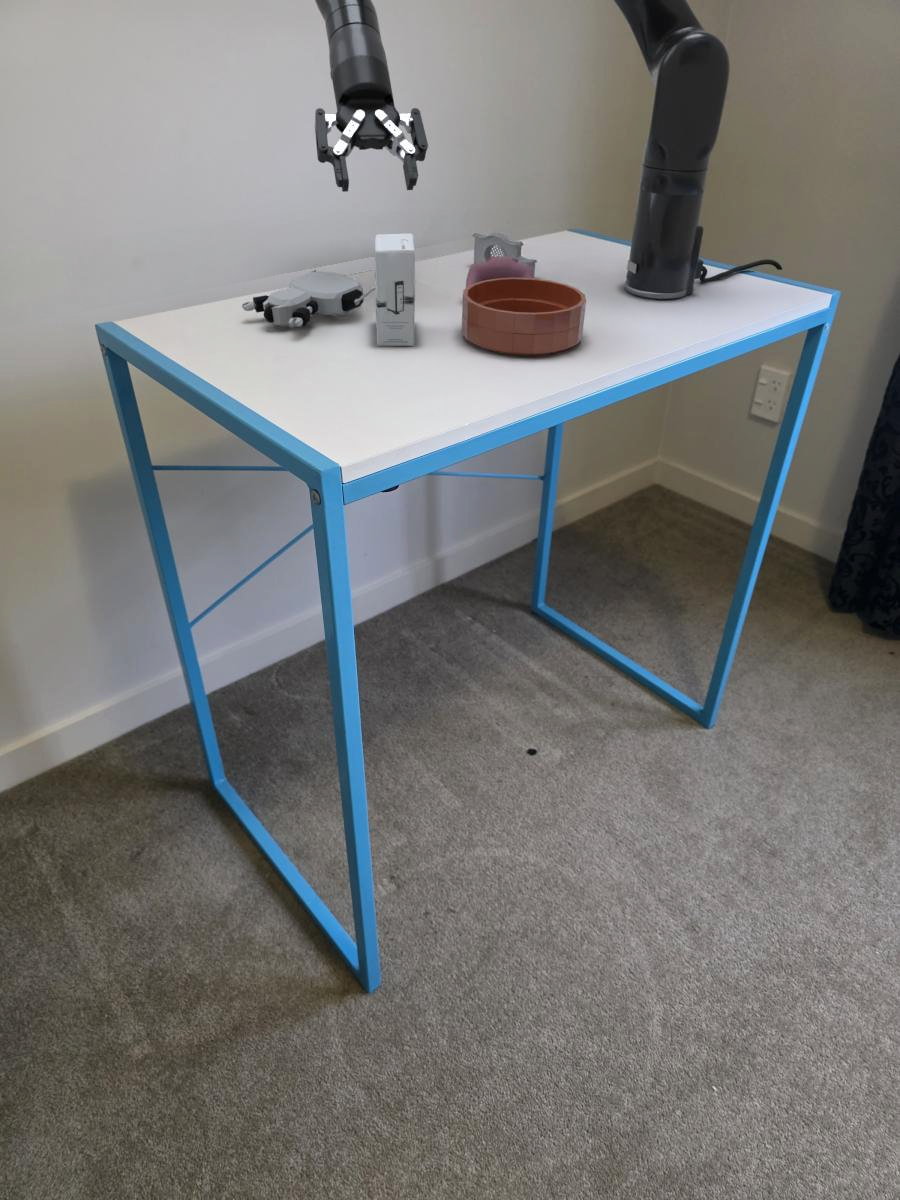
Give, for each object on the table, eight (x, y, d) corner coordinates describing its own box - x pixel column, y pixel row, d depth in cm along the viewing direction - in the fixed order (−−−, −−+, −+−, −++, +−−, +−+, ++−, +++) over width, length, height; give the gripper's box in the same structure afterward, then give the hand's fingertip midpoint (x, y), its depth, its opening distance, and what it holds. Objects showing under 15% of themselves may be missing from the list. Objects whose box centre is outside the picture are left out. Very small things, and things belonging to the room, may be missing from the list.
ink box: (376, 324, 116) (373, 231, 109) (413, 324, 116) (412, 232, 109) (376, 346, 109) (373, 249, 102) (415, 346, 109) (415, 249, 102)
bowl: (556, 315, 121) (559, 274, 117) (599, 353, 108) (605, 309, 105) (448, 322, 117) (449, 280, 114) (481, 362, 105) (483, 317, 102)
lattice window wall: (536, 279, 135) (539, 239, 132) (529, 281, 134) (532, 241, 131) (477, 264, 141) (479, 226, 138) (470, 266, 140) (471, 228, 137)
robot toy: (300, 348, 110) (381, 313, 119) (294, 313, 107) (378, 280, 116) (239, 326, 116) (320, 295, 125) (233, 293, 113) (316, 263, 122)
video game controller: (532, 310, 127) (536, 261, 126) (532, 305, 122) (536, 253, 121) (465, 307, 128) (468, 258, 126) (463, 301, 123) (467, 250, 122)
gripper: (307, 52, 108) (325, 169, 106) (417, 53, 111) (437, 167, 109) (305, 96, 115) (322, 206, 113) (409, 96, 118) (427, 203, 116)
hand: (378, 187), depth 111 cm, fingers open, 8 cm apart
